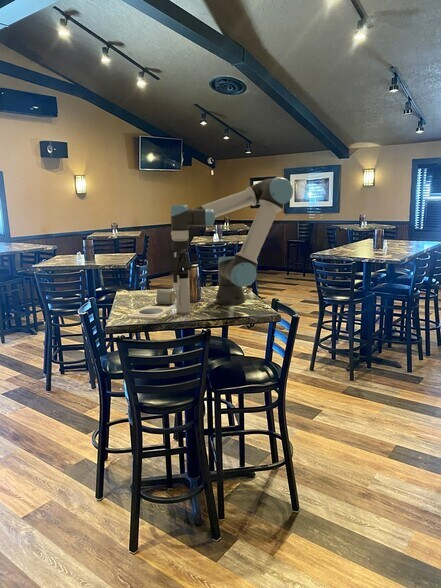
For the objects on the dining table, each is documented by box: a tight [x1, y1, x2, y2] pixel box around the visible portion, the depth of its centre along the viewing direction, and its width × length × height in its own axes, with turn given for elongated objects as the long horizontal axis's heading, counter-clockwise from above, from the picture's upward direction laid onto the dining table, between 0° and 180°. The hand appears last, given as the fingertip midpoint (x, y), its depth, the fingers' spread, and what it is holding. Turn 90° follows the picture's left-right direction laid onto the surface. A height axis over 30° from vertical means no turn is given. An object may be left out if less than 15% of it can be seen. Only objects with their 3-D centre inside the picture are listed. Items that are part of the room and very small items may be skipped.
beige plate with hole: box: [127, 305, 174, 320], centre depth 203 cm, size 14×20×1 cm
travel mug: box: [175, 268, 191, 316], centre depth 199 cm, size 6×7×20 cm
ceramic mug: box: [155, 288, 176, 306], centre depth 221 cm, size 11×8×8 cm
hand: (181, 287), depth 198 cm, fingers open, 13 cm apart
